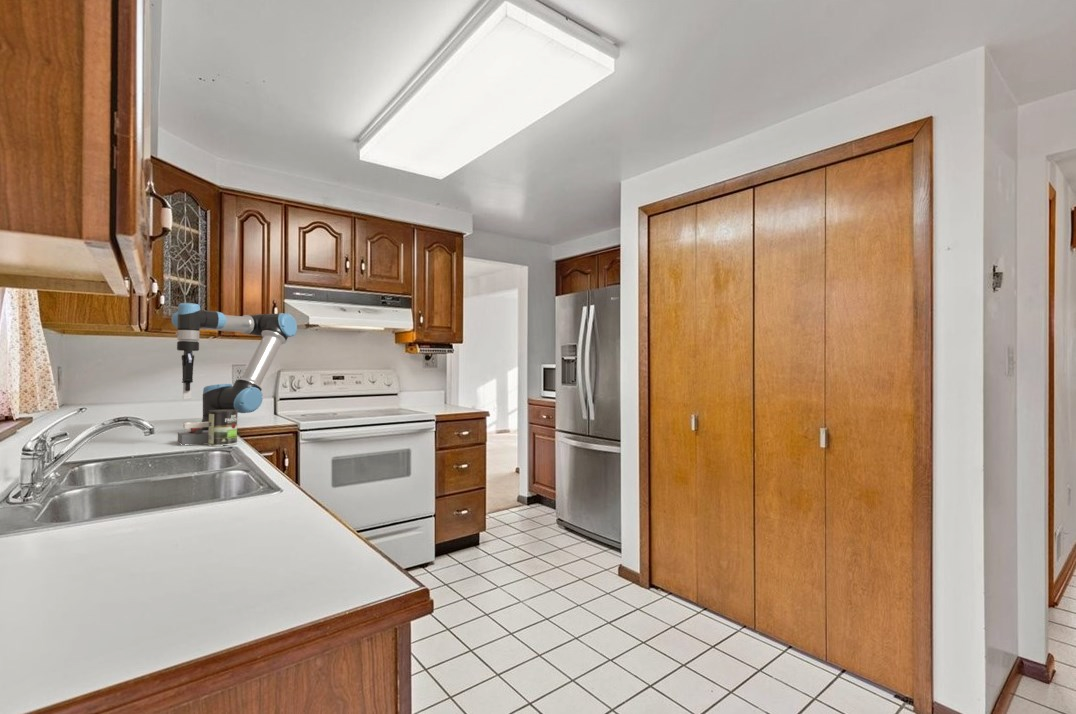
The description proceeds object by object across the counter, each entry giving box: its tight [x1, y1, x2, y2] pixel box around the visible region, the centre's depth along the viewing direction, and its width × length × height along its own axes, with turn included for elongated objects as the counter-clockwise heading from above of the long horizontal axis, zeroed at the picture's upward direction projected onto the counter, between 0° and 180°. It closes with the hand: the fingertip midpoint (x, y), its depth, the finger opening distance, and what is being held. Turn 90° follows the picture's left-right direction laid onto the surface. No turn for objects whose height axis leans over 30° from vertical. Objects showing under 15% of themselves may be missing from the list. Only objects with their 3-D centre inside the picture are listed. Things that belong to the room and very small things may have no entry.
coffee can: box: [207, 409, 238, 447], centre depth 214 cm, size 10×10×14 cm
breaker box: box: [177, 428, 209, 446], centre depth 219 cm, size 13×12×6 cm
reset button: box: [189, 427, 202, 433], centre depth 221 cm, size 4×4×4 cm
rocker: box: [182, 421, 209, 429], centre depth 217 cm, size 4×10×2 cm, turn 131°
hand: (187, 398), depth 214 cm, fingers closed
